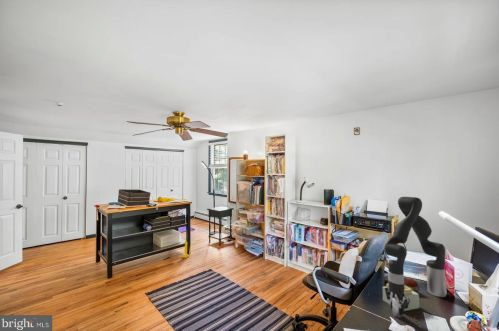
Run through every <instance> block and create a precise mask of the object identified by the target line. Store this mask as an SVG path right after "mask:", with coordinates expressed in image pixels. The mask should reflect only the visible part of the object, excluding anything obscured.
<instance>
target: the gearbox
mask: <svg viewBox="0 0 499 331" xmlns="http://www.w3.org/2000/svg"><path fill="white" fill-rule="evenodd" d="M404 286H405V285H404ZM386 287H389V286H388V284H386V286H382V301H383V302H385V303H386V304H388V305H389V306H391V304H390V300H389V299H387V296H386V292H385V288H386ZM404 295H405V297H406V298H407V299H410V302H409V306H408V308H407V309H404V312H407V311H411V310H417V309H420V294H419V293H418V292H414V291H412V289H410V288H409V287H407V286H405V291H404ZM403 300H404V299H403Z"/></svg>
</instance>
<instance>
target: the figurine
mask: <svg viewBox="0 0 499 331" xmlns="http://www.w3.org/2000/svg"><path fill="white" fill-rule="evenodd" d="M383 284H384V287H386V284H388V278H384V279H383ZM404 285H405V286H407V287H409V288H410V289H412V291H414V292H416V293H418V292H419V291H420V286H419V283H418V282H417V281H416V280H415V279H413V278H406V277H405V276H404Z"/></svg>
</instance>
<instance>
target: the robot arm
mask: <svg viewBox="0 0 499 331" xmlns="http://www.w3.org/2000/svg"><path fill="white" fill-rule="evenodd" d="M397 204H398V207H399V210H400V211H401V213H402V214H403V215H404V216H405V217H404V218H403V219H402V220H400V221H399V222H398V223H397V224H396V225H395V227H394V230H393V234H392V235H391V236H390V238H389V239H388V240H387V242H386V243H385V244H384V247H383V248H384V249H383V250H384V253H385V255H387V256H390V257H393V258H396V259H391V260H389V261H388V267H387V268H388V273H387V280H388V286H389V287H386V286H385V287H386V288H385V292H386V296H387V299H389V300H390V304H391V305H390V304H389V305H390V309H391V310H392V297H393V298H394V295H395V297H396V299H397V303H398V304H399V314H400V315H402V316H403V315H405V311H404V309H407V308H408V306H409V302H410V299H407V298H406V297H405V295H404V291H405V286H404V277H405V276H404V275H405V274H404V266H405V265H404V264H405V261H406V258H407V254H408V251H407V249H406V247H405V246H403V245H399V244H406V243H407V241H408V238H409V235H410V231H411V229H412V230H413V232H414V234H415V236H416V237H417V239H418V241H419V244H420V246H421V249H422V251H423V252H424V254H425V255H428V256H431V257H435V258H436V259H429V260H427V261H426V282H427V283H426V284H427V285H426V288H427V289H426V290H427V293H429V294H430V295H432V296H435V297H439V298H446V296H447V294H448V293H447V280H446V268H445V266H446V246H444V244H442V243H439V242H434V241H430V240H429V238H430V236H431V235H432V232H433V231H432V228H431V225H430V224H429V223H428V221H427V220H426V219H425V218H424V217H422V216H421V215H420V213H421V211H422V209H423V200H422V199H421V198H420V197H416V196H401V197H399V198H398V200H397ZM403 299H404V300H403ZM400 300H402V301H400ZM401 304H402V305H401Z"/></svg>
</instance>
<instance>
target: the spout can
mask: <svg viewBox="0 0 499 331" xmlns="http://www.w3.org/2000/svg"><path fill="white" fill-rule="evenodd" d="M400 301H402V300H400ZM401 305H402V304H401ZM391 310H392V315H393V316H394V317H396V318H399V319H401V318H402V317H403V315H400V314H399V304H398V303H397V299H396V297H395V295H394V298H393V297H392V309H391Z"/></svg>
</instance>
